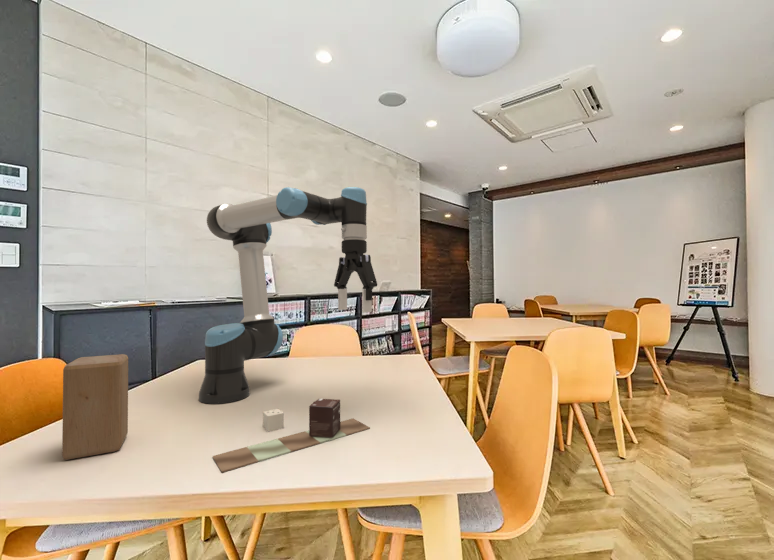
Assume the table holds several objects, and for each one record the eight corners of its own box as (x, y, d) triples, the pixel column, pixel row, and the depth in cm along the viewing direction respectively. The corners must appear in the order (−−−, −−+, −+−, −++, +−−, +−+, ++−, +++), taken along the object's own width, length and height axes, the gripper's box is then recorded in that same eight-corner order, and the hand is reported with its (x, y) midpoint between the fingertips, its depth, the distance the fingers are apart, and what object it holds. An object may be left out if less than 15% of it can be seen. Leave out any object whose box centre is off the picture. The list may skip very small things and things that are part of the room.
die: (262, 427, 92) (262, 411, 92) (278, 423, 94) (278, 408, 95) (267, 432, 89) (267, 415, 89) (283, 428, 91) (283, 412, 91)
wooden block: (60, 462, 74) (61, 365, 74) (75, 443, 83) (76, 356, 83) (120, 452, 78) (121, 360, 79) (128, 435, 87) (129, 353, 88)
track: (212, 457, 76) (212, 455, 76) (353, 419, 97) (353, 418, 97) (221, 473, 69) (221, 471, 69) (370, 428, 91) (370, 427, 91)
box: (332, 438, 84) (332, 407, 84) (308, 436, 85) (308, 405, 85) (340, 428, 90) (340, 399, 90) (318, 426, 91) (318, 397, 91)
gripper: (323, 243, 115) (323, 309, 115) (367, 234, 95) (367, 313, 95) (343, 244, 120) (343, 308, 119) (389, 236, 100) (389, 312, 100)
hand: (354, 311), depth 107 cm, fingers open, 13 cm apart
